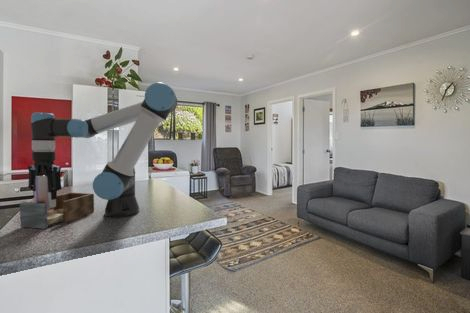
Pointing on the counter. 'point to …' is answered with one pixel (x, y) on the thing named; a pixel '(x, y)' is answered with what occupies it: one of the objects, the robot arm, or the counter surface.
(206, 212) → the counter surface
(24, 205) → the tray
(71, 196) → the caddy
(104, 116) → the robot arm
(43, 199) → the beverage can
